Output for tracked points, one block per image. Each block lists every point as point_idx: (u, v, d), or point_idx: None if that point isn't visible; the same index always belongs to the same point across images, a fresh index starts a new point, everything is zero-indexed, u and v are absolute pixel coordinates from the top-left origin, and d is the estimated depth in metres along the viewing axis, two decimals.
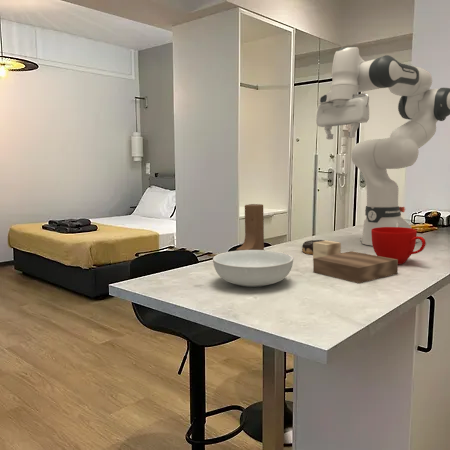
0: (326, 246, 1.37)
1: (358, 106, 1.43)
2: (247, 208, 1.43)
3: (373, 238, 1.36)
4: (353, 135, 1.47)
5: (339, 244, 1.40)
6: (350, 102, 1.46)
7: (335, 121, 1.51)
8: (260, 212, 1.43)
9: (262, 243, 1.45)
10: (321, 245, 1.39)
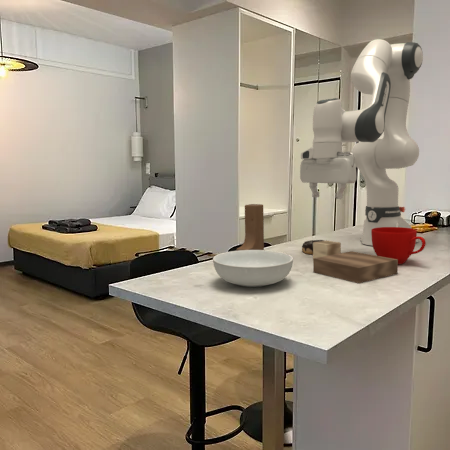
0: (326, 246, 1.37)
1: (343, 167, 1.30)
2: (247, 208, 1.43)
3: (373, 238, 1.36)
4: (340, 196, 1.35)
5: (339, 244, 1.40)
6: (335, 161, 1.33)
7: (320, 180, 1.38)
8: (260, 212, 1.43)
9: (262, 243, 1.45)
10: (321, 245, 1.39)
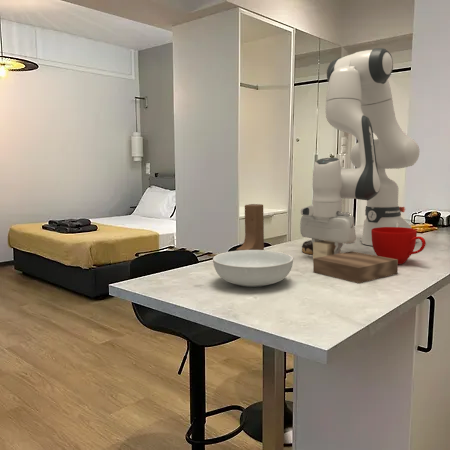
0: (326, 246, 1.37)
1: (343, 228, 1.33)
2: (247, 208, 1.43)
3: (373, 238, 1.36)
4: None
5: None
6: (334, 221, 1.35)
7: (320, 237, 1.41)
8: (260, 212, 1.43)
9: (262, 243, 1.45)
10: (321, 245, 1.39)
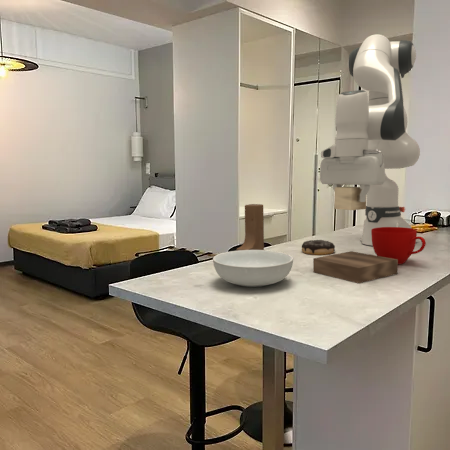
0: (350, 189, 1.20)
1: (371, 166, 1.16)
2: (247, 208, 1.43)
3: (373, 238, 1.36)
4: (363, 199, 1.21)
5: None
6: (360, 160, 1.18)
7: (343, 181, 1.24)
8: (260, 212, 1.43)
9: (262, 243, 1.45)
10: (344, 189, 1.22)
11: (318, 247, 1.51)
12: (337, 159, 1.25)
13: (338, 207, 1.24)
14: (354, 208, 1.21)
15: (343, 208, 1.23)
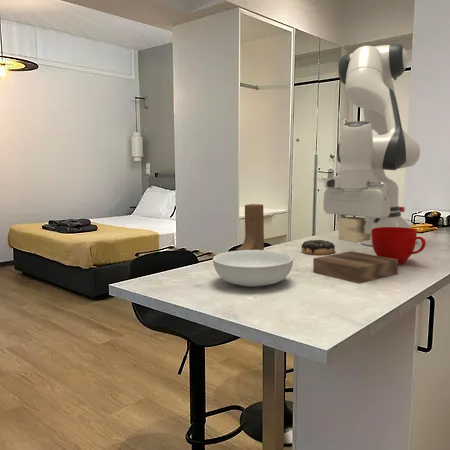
0: (355, 221, 1.19)
1: (375, 199, 1.15)
2: (247, 208, 1.43)
3: (373, 238, 1.36)
4: (368, 231, 1.20)
5: None
6: (365, 192, 1.17)
7: (347, 212, 1.23)
8: (260, 212, 1.43)
9: (262, 243, 1.45)
10: (348, 221, 1.21)
11: (317, 247, 1.51)
12: (341, 190, 1.24)
13: (342, 238, 1.23)
14: (359, 240, 1.20)
15: (348, 239, 1.22)
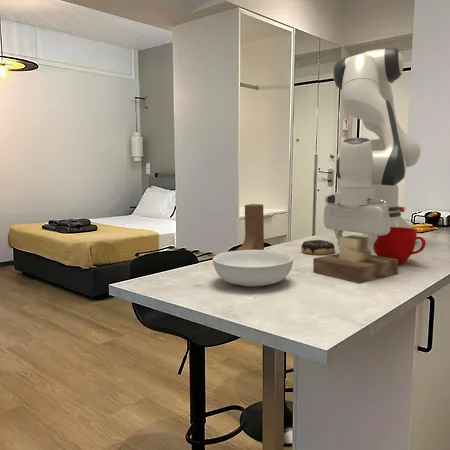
0: (355, 241, 1.20)
1: (376, 217, 1.16)
2: (247, 208, 1.43)
3: None
4: (371, 248, 1.20)
5: (369, 239, 1.23)
6: (365, 209, 1.18)
7: (347, 228, 1.23)
8: (260, 212, 1.43)
9: (262, 243, 1.45)
10: (348, 241, 1.22)
11: (317, 247, 1.51)
12: (341, 206, 1.24)
13: (343, 257, 1.24)
14: (359, 259, 1.21)
15: (348, 259, 1.23)
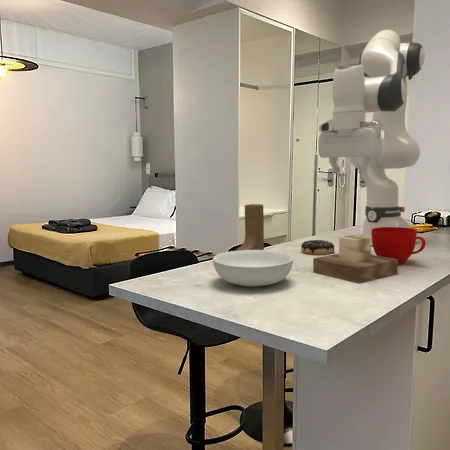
0: (355, 241, 1.20)
1: (368, 138, 1.19)
2: (247, 208, 1.43)
3: (373, 238, 1.36)
4: (365, 171, 1.24)
5: (369, 239, 1.23)
6: (358, 132, 1.22)
7: (341, 154, 1.27)
8: (260, 212, 1.43)
9: (262, 243, 1.45)
10: (348, 241, 1.22)
11: (317, 247, 1.51)
12: (335, 132, 1.28)
13: (343, 257, 1.24)
14: (359, 259, 1.21)
15: (348, 259, 1.23)
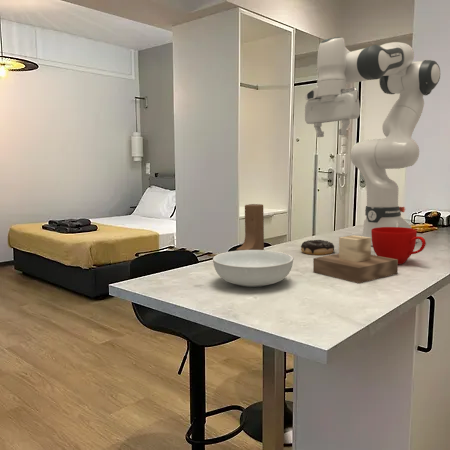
0: (355, 241, 1.20)
1: (347, 102, 1.34)
2: (247, 208, 1.43)
3: (373, 238, 1.36)
4: (344, 132, 1.39)
5: (369, 239, 1.23)
6: (339, 98, 1.37)
7: (324, 118, 1.42)
8: (260, 212, 1.43)
9: (262, 243, 1.45)
10: (348, 241, 1.22)
11: (317, 247, 1.51)
12: (319, 99, 1.43)
13: (343, 257, 1.24)
14: (359, 259, 1.21)
15: (348, 259, 1.23)
